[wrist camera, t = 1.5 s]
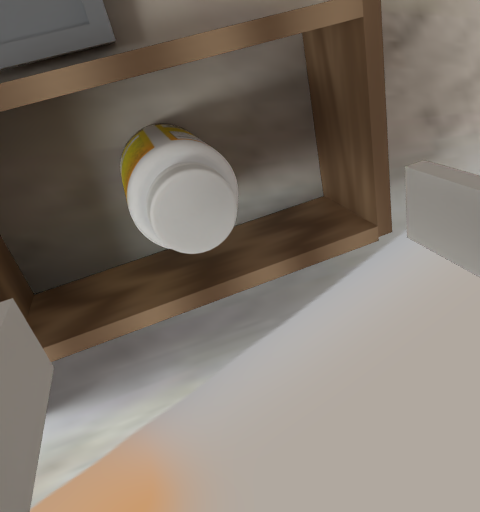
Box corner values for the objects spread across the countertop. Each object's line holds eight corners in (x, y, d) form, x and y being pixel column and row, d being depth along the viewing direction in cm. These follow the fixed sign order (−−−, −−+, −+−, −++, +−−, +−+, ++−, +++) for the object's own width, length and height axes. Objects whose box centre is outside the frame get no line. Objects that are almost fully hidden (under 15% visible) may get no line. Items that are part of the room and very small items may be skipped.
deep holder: (25, 311, 28) (5, 379, 22) (-93, 110, 22) (-169, 125, 15) (336, 204, 32) (392, 235, 26) (313, 7, 26) (379, -12, 19)
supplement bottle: (135, 216, 27) (152, 286, 19) (107, 134, 25) (110, 169, 16) (213, 193, 29) (264, 249, 20) (193, 112, 26) (242, 134, 17)
